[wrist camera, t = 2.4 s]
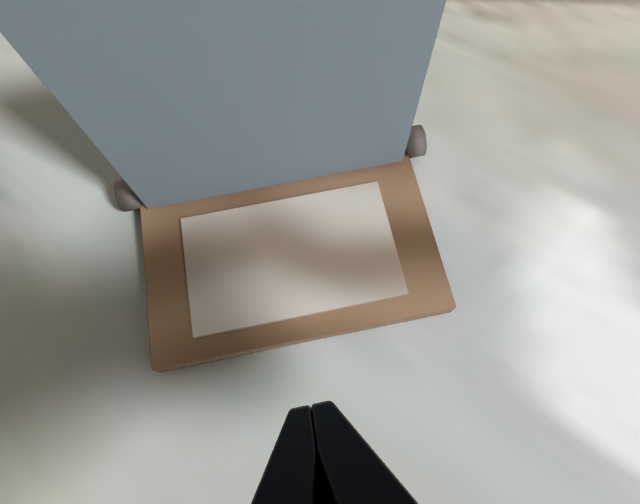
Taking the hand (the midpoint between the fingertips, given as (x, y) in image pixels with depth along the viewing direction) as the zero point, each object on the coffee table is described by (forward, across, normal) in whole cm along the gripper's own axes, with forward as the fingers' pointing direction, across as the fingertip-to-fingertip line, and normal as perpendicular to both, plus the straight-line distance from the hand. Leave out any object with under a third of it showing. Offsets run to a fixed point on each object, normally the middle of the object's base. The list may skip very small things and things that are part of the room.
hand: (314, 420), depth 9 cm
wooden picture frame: (+14, 0, +3) cm, 15 cm away
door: (+17, 0, -1) cm, 17 cm away
